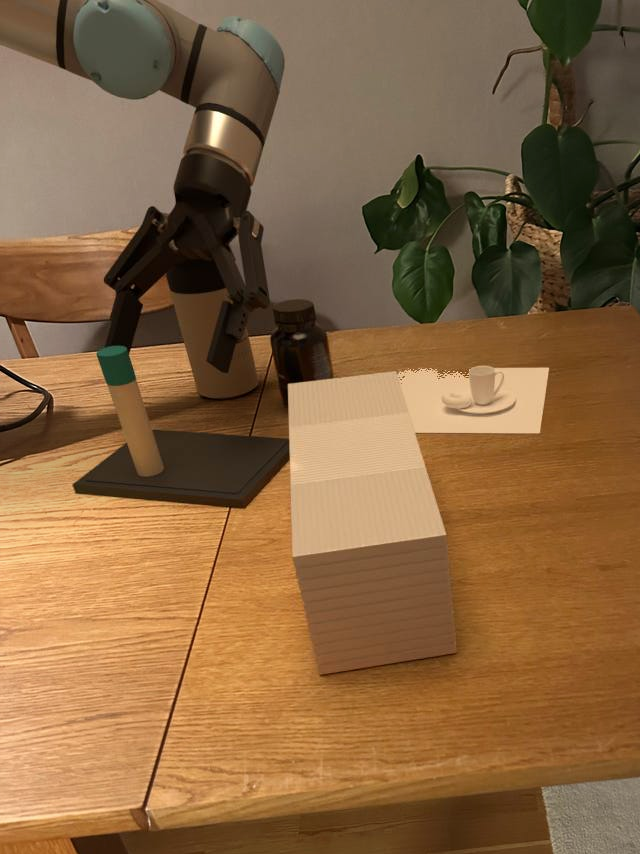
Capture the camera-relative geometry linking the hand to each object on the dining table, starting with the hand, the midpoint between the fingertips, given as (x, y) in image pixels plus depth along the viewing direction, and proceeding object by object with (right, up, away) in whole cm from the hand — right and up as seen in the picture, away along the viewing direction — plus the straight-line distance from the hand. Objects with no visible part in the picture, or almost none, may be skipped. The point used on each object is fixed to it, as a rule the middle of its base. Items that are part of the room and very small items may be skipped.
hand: (165, 361), depth 89 cm
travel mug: (0, +3, +22) cm, 22 cm away
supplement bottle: (+12, 0, +17) cm, 21 cm away
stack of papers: (+23, -22, -12) cm, 34 cm away
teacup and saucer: (+32, 0, +15) cm, 35 cm away
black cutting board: (+2, -11, +4) cm, 11 cm away
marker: (-2, -11, +1) cm, 12 cm away
